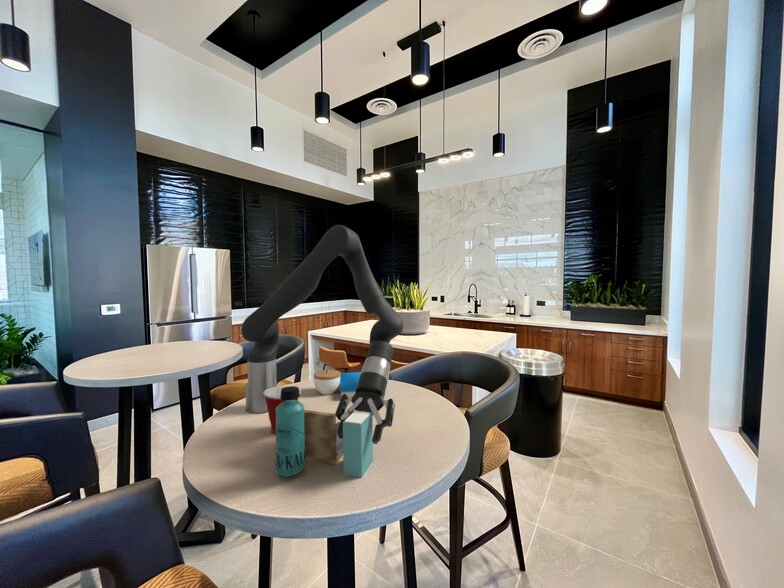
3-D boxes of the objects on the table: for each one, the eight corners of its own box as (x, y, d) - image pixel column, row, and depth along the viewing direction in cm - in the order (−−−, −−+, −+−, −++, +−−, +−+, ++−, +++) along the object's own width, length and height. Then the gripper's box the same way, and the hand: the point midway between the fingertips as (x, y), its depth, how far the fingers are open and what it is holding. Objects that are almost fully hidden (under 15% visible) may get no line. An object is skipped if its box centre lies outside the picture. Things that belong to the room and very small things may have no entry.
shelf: (277, 455, 81) (276, 408, 80) (304, 433, 92) (303, 393, 92) (334, 465, 76) (333, 415, 76) (354, 441, 87) (354, 398, 87)
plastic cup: (304, 434, 92) (303, 393, 91) (263, 441, 88) (262, 398, 87) (300, 420, 102) (299, 382, 101) (264, 425, 98) (263, 387, 98)
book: (340, 391, 118) (339, 372, 143) (340, 402, 119) (339, 381, 143) (385, 388, 122) (376, 370, 146) (385, 399, 122) (376, 379, 146)
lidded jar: (346, 389, 131) (345, 367, 131) (330, 398, 121) (330, 374, 121) (324, 386, 135) (324, 364, 135) (308, 394, 126) (307, 371, 125)
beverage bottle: (279, 467, 75) (278, 383, 75) (308, 465, 76) (307, 382, 75) (271, 484, 69) (270, 393, 68) (303, 482, 69) (301, 392, 69)
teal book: (343, 474, 72) (342, 421, 72) (356, 458, 79) (355, 409, 79) (361, 477, 71) (361, 423, 71) (372, 461, 78) (372, 411, 77)
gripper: (345, 368, 84) (324, 430, 74) (396, 372, 80) (382, 438, 69) (353, 382, 89) (335, 442, 79) (402, 386, 85) (390, 450, 75)
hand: (357, 440), depth 74 cm, fingers open, 8 cm apart
